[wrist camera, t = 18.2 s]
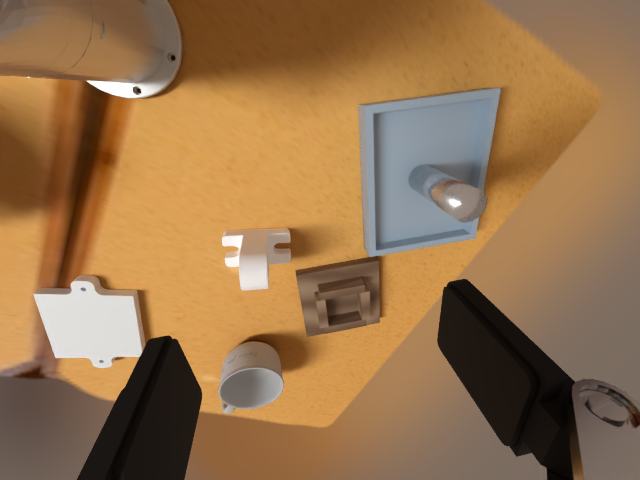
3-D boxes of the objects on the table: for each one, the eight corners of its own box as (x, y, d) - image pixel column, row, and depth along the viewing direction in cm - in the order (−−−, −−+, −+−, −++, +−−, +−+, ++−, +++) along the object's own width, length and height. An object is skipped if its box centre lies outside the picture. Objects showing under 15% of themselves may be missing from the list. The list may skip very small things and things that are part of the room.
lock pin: (408, 166, 42) (455, 192, 31) (435, 162, 42) (489, 186, 32) (407, 192, 44) (451, 225, 33) (432, 188, 44) (483, 219, 34)
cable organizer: (223, 230, 43) (211, 265, 34) (289, 227, 45) (294, 260, 36) (227, 260, 46) (217, 300, 37) (290, 256, 47) (295, 294, 38)
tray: (358, 104, 38) (365, 105, 35) (485, 88, 40) (500, 87, 37) (364, 248, 48) (369, 257, 46) (464, 230, 50) (475, 238, 47)
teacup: (254, 323, 52) (251, 359, 45) (293, 351, 57) (296, 388, 50) (200, 364, 55) (190, 404, 48) (242, 388, 59) (238, 427, 52)
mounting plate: (148, 357, 52) (144, 366, 51) (66, 359, 50) (59, 368, 48) (136, 275, 45) (130, 282, 43) (37, 271, 42) (28, 279, 40)
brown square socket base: (295, 270, 48) (297, 284, 45) (375, 256, 49) (384, 268, 46) (306, 331, 55) (308, 347, 51) (377, 317, 56) (384, 332, 53)
